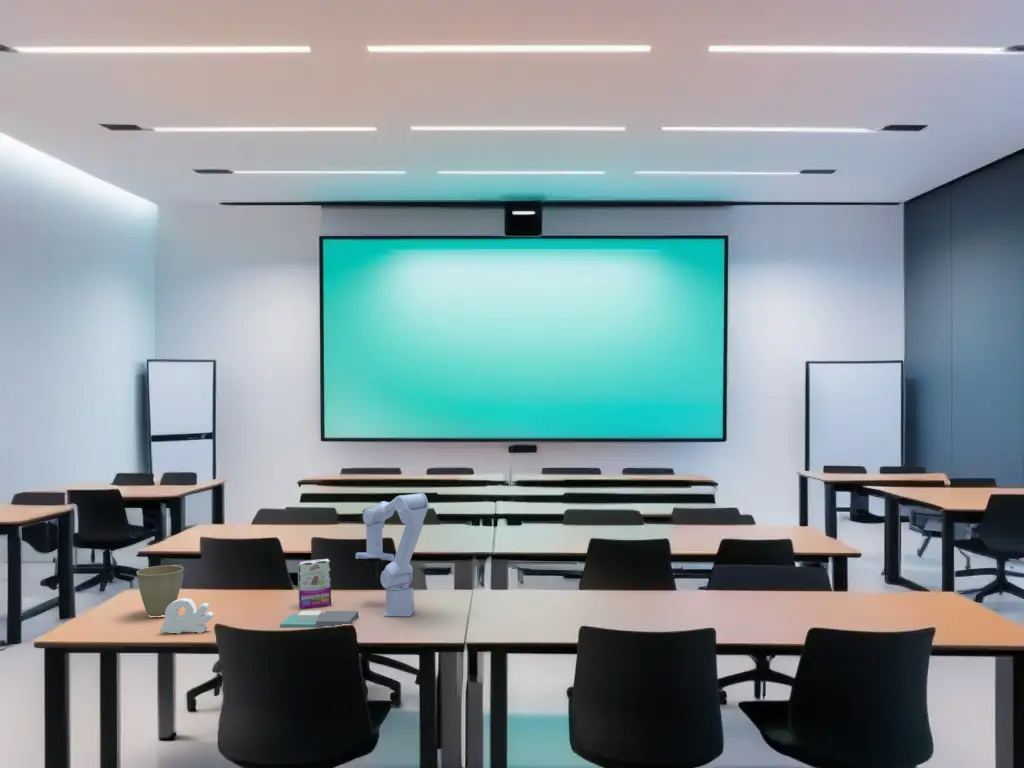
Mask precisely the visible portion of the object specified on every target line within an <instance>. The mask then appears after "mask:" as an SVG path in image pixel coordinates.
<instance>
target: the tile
mask: <svg viewBox="0 0 1024 768" xmlns="http://www.w3.org/2000/svg"><path fill="white" fill-rule="evenodd" d="M297 614H298V615H297V616H298V621H317V620H318V619H319V618H320V617H321V616H322V615H323V614H324V611H323V610H301V611H300V612H299V613H297Z"/></svg>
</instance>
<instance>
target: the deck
mask: <svg viewBox="0 0 1024 768" xmlns="http://www.w3.org/2000/svg"><path fill="white" fill-rule="evenodd" d="M357 617H358V618H359V610H326V611H325V612H323V615H322V616H321V617H320V618H319V619H318V620H317V621H316V627H315V628H324V627H323V626H335V625H342V624H352V625H353V623H354V622H355V621H356V620H357V619H358V618H357ZM356 618H357V619H356ZM355 619H356V620H355ZM354 620H355V621H354ZM353 621H354V622H353ZM352 622H353V623H352Z"/></svg>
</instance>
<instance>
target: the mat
mask: <svg viewBox="0 0 1024 768" xmlns="http://www.w3.org/2000/svg"><path fill="white" fill-rule="evenodd" d="M298 614H299V613H292V614H290V616H288V617H287V618H286V619H285V620H284V621H282V622H281V623H280V624H279V627H280V628H317V627H316V621H298V616H297V615H298Z"/></svg>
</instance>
